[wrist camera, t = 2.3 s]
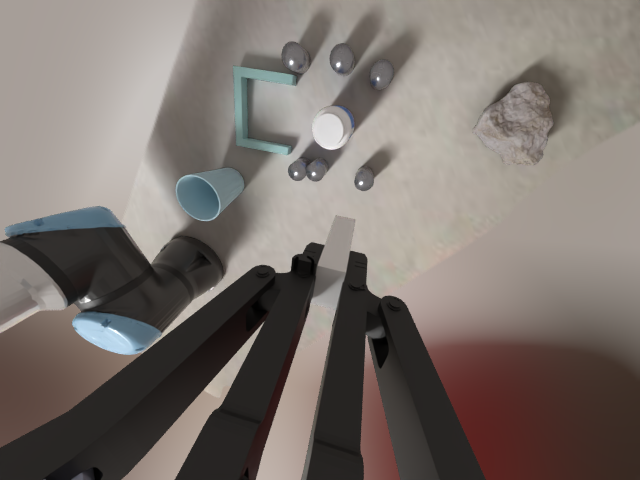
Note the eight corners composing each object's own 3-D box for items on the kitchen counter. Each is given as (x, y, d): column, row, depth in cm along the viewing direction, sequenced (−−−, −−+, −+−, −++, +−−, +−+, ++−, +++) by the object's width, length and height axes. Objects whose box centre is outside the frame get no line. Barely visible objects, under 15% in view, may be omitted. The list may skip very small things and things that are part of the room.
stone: (524, 71, 31) (555, 65, 26) (553, 134, 33) (586, 139, 28) (462, 117, 34) (478, 119, 29) (493, 171, 37) (512, 181, 32)
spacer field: (283, 171, 43) (276, 176, 40) (291, 42, 34) (282, 35, 30) (370, 188, 42) (370, 195, 38) (403, 58, 32) (407, 52, 29)
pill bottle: (324, 102, 37) (310, 100, 28) (358, 109, 36) (354, 109, 28) (318, 139, 39) (304, 148, 31) (350, 146, 39) (344, 157, 31)
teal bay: (241, 143, 42) (236, 145, 40) (239, 67, 36) (233, 65, 35) (291, 153, 41) (287, 155, 40) (296, 76, 36) (292, 74, 34)
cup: (219, 201, 49) (185, 221, 40) (207, 163, 45) (167, 176, 36) (253, 199, 47) (225, 220, 38) (243, 160, 44) (210, 173, 35)
